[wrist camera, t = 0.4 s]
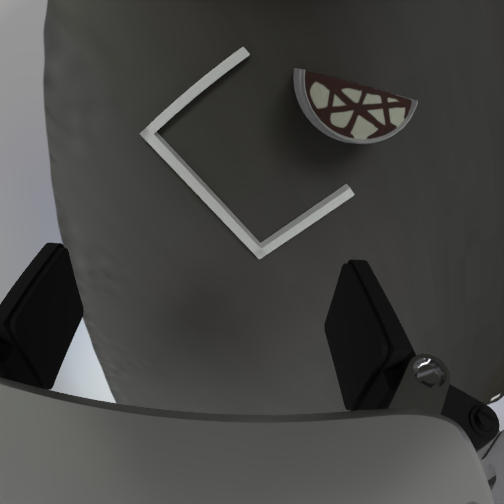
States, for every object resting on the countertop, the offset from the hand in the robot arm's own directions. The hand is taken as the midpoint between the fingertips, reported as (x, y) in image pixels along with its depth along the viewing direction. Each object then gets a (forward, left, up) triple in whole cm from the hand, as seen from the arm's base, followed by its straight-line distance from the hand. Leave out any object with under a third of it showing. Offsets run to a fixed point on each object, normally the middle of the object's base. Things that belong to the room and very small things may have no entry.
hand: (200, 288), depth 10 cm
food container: (-11, +5, -30) cm, 32 cm away
